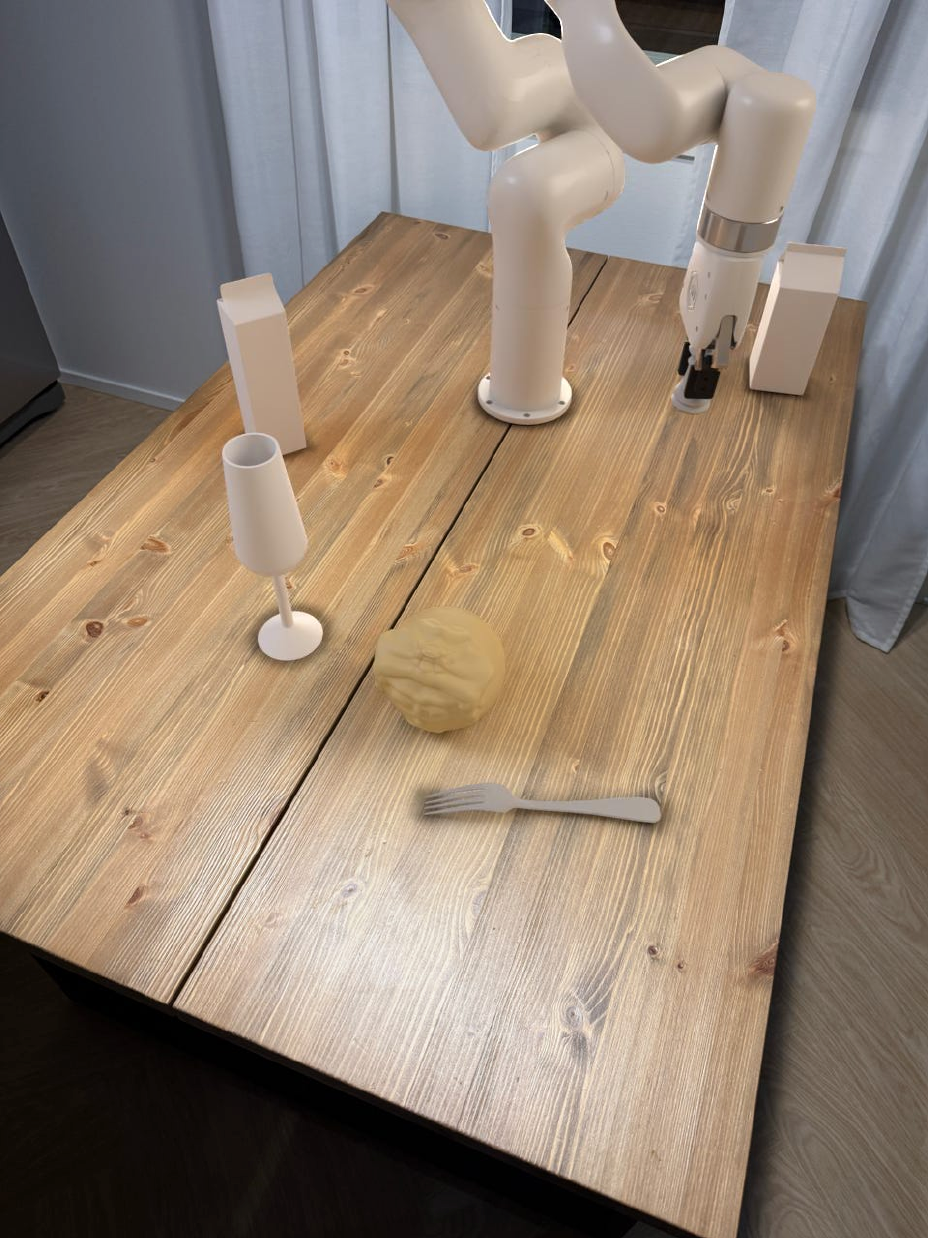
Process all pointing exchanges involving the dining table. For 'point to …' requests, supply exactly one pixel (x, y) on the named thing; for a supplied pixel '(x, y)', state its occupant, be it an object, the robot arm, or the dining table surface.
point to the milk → (262, 360)
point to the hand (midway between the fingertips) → (694, 384)
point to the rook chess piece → (678, 394)
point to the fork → (547, 803)
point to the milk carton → (795, 317)
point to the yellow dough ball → (440, 668)
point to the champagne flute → (269, 536)
